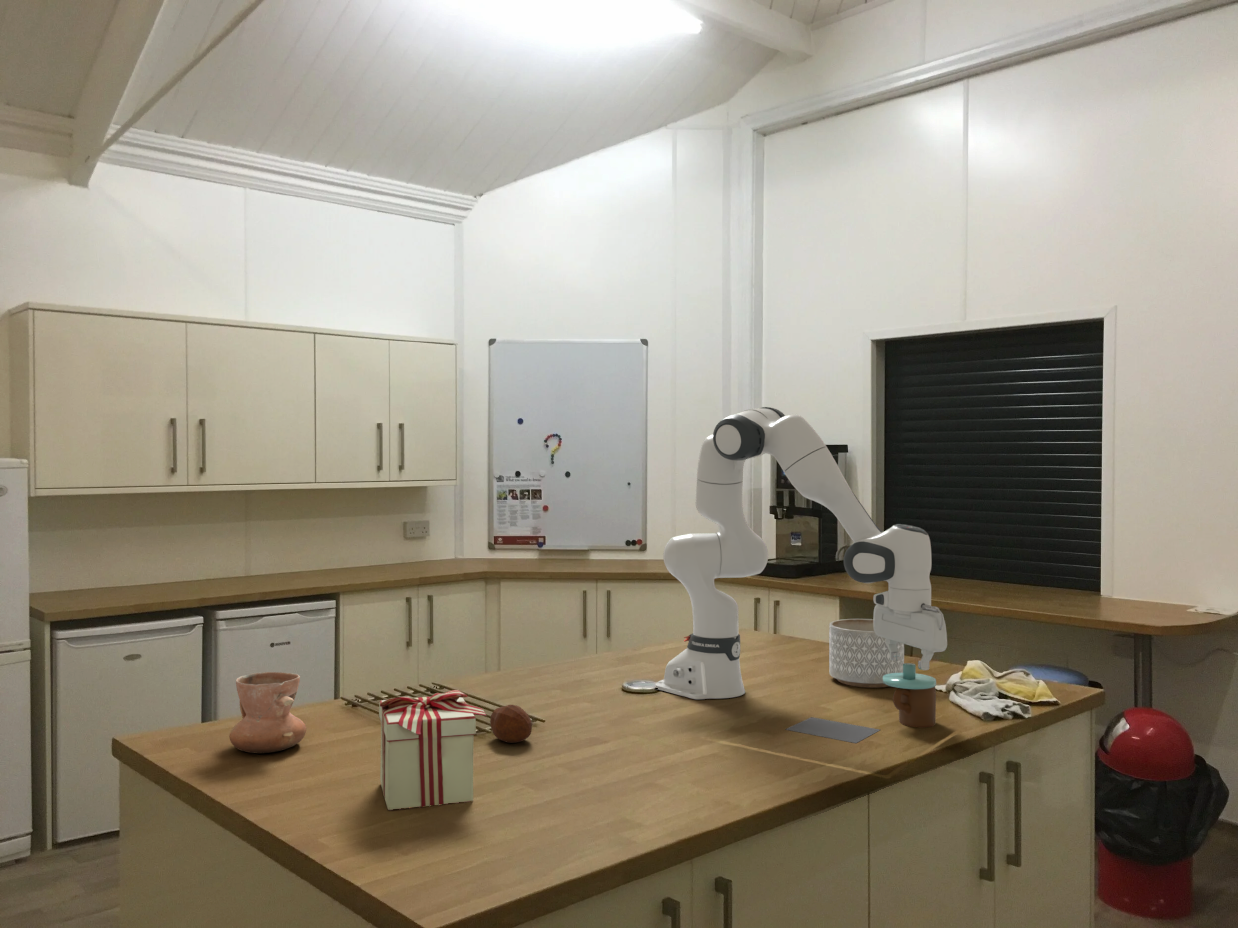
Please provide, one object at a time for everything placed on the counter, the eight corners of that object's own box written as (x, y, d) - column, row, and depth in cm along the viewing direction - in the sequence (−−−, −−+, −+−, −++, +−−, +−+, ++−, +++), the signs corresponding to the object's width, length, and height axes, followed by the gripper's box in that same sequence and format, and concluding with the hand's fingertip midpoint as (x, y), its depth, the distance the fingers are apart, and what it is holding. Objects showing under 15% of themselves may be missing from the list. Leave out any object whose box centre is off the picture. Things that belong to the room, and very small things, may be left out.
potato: (509, 731, 209) (509, 696, 209) (544, 741, 202) (544, 705, 202) (478, 740, 203) (478, 704, 203) (513, 751, 196) (513, 713, 196)
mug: (910, 736, 206) (910, 690, 206) (879, 728, 212) (879, 684, 211) (942, 725, 213) (942, 682, 213) (912, 718, 219) (912, 675, 219)
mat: (785, 731, 209) (785, 729, 209) (811, 719, 218) (811, 716, 218) (856, 745, 199) (856, 742, 199) (880, 732, 208) (880, 729, 208)
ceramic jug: (323, 748, 198) (322, 676, 198) (254, 764, 187) (253, 688, 187) (278, 732, 210) (278, 665, 210) (211, 746, 200) (210, 676, 200)
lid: (877, 685, 210) (877, 666, 210) (888, 675, 220) (888, 657, 220) (931, 691, 205) (931, 672, 205) (940, 680, 215) (940, 661, 215)
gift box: (391, 820, 160) (391, 713, 159) (372, 784, 177) (371, 688, 176) (494, 805, 166) (493, 702, 166) (465, 772, 183) (465, 679, 183)
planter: (912, 678, 258) (913, 622, 258) (891, 692, 242) (891, 634, 242) (843, 669, 268) (843, 616, 268) (818, 683, 252) (818, 626, 252)
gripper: (955, 607, 204) (954, 673, 205) (891, 592, 223) (891, 653, 223) (930, 609, 202) (929, 676, 202) (868, 594, 221) (868, 656, 221)
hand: (908, 664), depth 213 cm, fingers open, 8 cm apart
